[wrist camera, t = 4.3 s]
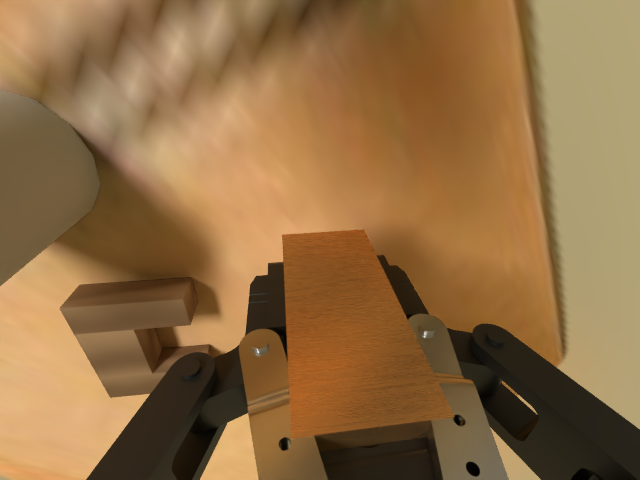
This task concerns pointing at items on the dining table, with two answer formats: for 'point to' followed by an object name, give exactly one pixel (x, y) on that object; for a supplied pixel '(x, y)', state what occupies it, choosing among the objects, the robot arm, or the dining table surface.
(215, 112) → the dining table surface
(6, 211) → the cup
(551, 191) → the dining table surface
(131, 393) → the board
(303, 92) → the dining table surface
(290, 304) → the block
